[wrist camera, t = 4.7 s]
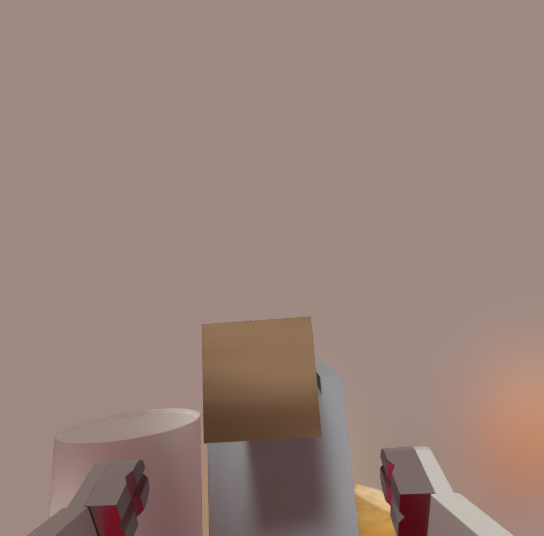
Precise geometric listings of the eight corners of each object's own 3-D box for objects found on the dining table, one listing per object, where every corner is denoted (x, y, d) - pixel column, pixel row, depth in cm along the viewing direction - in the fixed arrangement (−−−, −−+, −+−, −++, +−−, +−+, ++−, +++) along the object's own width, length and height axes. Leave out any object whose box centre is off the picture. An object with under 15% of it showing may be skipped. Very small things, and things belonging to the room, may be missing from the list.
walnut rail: (321, 437, 11) (310, 316, 12) (204, 443, 11) (201, 324, 12) (303, 375, 29) (299, 330, 30) (259, 377, 29) (257, 333, 30)
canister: (187, 744, 23) (185, 435, 27) (-14, 772, 22) (17, 449, 26) (213, 596, 36) (208, 404, 40) (88, 610, 35) (97, 413, 39)
